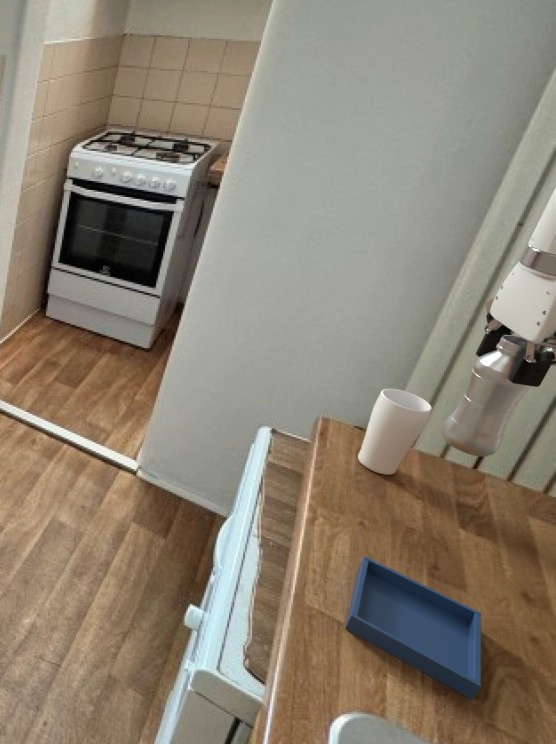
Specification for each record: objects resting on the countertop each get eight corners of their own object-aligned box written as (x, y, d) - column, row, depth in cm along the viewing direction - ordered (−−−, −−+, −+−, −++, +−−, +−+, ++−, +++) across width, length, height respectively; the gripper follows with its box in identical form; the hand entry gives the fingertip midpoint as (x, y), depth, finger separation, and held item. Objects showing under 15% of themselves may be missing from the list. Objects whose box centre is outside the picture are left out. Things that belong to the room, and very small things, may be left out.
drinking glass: (342, 452, 114) (370, 387, 109) (378, 453, 114) (408, 388, 109) (372, 478, 108) (403, 411, 103) (410, 480, 108) (444, 412, 102)
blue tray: (358, 567, 91) (364, 555, 90) (473, 625, 83) (481, 612, 82) (344, 628, 82) (351, 615, 81) (472, 700, 74) (480, 686, 73)
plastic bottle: (498, 452, 96) (557, 344, 88) (488, 468, 92) (547, 358, 85) (443, 429, 101) (494, 325, 93) (431, 444, 97) (483, 337, 90)
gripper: (655, 295, 76) (586, 410, 82) (547, 244, 91) (496, 345, 98) (577, 286, 78) (516, 399, 84) (484, 238, 93) (438, 337, 100)
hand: (505, 369), depth 91 cm, fingers closed on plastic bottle, 6 cm apart
